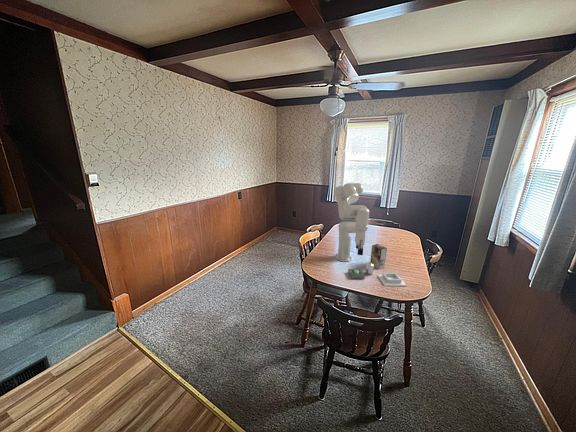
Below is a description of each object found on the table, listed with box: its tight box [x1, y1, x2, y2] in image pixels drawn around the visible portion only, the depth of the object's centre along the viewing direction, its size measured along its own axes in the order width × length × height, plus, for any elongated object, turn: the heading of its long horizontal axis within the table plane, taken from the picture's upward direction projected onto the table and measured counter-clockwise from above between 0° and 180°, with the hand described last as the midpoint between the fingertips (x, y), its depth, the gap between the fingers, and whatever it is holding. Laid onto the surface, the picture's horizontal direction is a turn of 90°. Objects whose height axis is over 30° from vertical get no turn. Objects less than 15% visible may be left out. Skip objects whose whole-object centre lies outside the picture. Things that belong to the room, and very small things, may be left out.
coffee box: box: [369, 243, 388, 270], centre depth 171 cm, size 9×6×16 cm
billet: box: [364, 261, 375, 277], centre depth 161 cm, size 5×5×8 cm
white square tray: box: [377, 272, 407, 287], centre depth 152 cm, size 12×14×4 cm
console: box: [347, 268, 366, 280], centre depth 159 cm, size 9×9×3 cm
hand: (359, 251), depth 151 cm, fingers open, 9 cm apart
